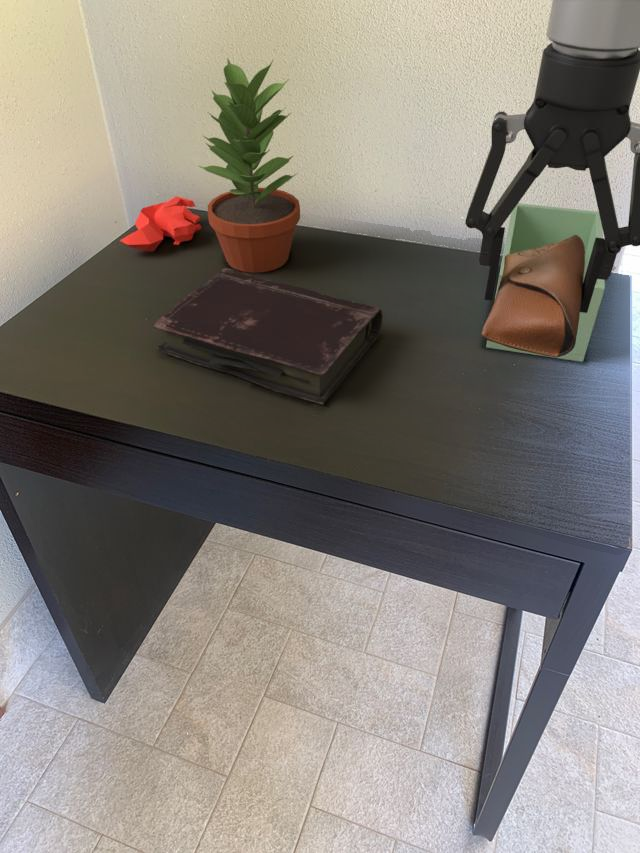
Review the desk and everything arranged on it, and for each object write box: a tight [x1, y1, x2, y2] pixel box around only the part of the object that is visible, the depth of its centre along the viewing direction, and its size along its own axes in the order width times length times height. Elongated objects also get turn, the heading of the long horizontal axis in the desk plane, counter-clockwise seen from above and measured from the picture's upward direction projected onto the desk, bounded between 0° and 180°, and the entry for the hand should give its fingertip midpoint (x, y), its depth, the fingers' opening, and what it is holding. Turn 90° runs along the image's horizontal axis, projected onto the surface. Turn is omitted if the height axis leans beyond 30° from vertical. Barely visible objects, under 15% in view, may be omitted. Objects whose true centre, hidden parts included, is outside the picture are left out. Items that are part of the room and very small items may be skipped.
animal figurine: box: [119, 196, 202, 252], centre depth 116 cm, size 12×15×5 cm
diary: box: [152, 267, 383, 406], centre depth 92 cm, size 19×25×5 cm
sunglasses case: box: [480, 235, 585, 358], centre depth 67 cm, size 18×7×7 cm
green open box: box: [485, 202, 606, 363], centre depth 96 cm, size 23×13×11 cm, turn 164°
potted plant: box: [198, 57, 301, 274], centre depth 102 cm, size 15×15×30 cm
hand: (535, 299), depth 68 cm, fingers closed on sunglasses case, 8 cm apart
